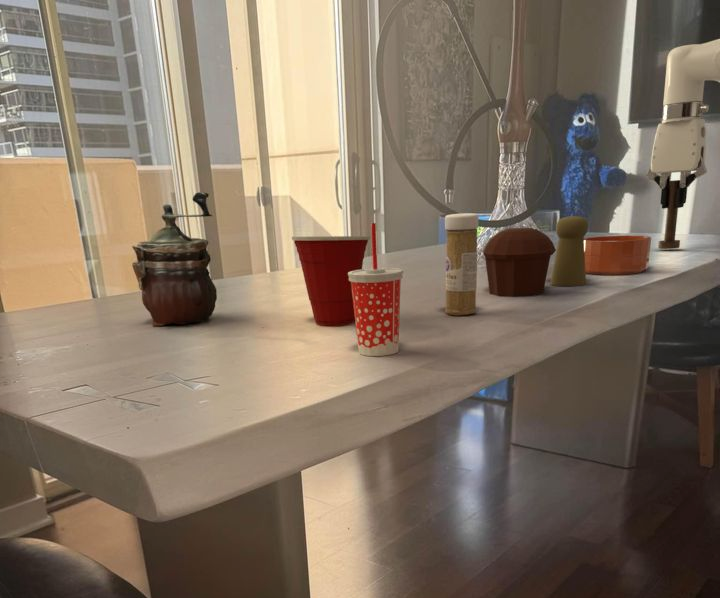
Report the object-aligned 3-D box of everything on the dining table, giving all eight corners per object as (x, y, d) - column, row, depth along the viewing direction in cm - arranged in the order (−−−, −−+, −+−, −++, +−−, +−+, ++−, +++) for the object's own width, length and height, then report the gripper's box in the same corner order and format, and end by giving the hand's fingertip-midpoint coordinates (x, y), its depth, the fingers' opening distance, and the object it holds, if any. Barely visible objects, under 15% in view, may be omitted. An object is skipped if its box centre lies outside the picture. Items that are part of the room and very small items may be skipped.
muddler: (674, 246, 158) (680, 179, 152) (682, 247, 154) (689, 179, 148) (654, 247, 158) (660, 181, 152) (663, 249, 154) (669, 181, 148)
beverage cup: (378, 343, 84) (374, 221, 79) (415, 349, 80) (413, 221, 74) (341, 353, 80) (333, 225, 75) (378, 360, 76) (372, 225, 71)
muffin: (475, 297, 112) (476, 232, 108) (486, 287, 122) (487, 227, 118) (551, 297, 108) (555, 230, 105) (556, 287, 118) (559, 224, 114)
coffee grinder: (197, 333, 96) (177, 193, 89) (126, 326, 104) (103, 197, 97) (257, 316, 106) (243, 189, 99) (188, 312, 114) (171, 193, 106)
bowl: (632, 266, 138) (635, 234, 136) (658, 273, 127) (662, 238, 125) (571, 269, 138) (574, 237, 136) (592, 276, 127) (594, 242, 125)
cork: (562, 287, 117) (566, 218, 113) (543, 283, 123) (547, 217, 118) (593, 284, 119) (598, 216, 114) (573, 280, 124) (578, 215, 120)
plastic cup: (388, 317, 100) (385, 229, 95) (346, 332, 92) (340, 236, 87) (328, 313, 105) (322, 230, 101) (283, 326, 97) (274, 237, 93)
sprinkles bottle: (439, 313, 101) (438, 214, 96) (465, 309, 103) (466, 212, 97) (456, 317, 97) (456, 215, 92) (483, 313, 99) (485, 213, 93)
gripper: (728, 109, 143) (717, 205, 150) (651, 119, 153) (643, 208, 160) (715, 108, 138) (704, 207, 145) (636, 118, 148) (629, 210, 155)
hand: (672, 207), depth 152 cm, fingers closed on muddler, 2 cm apart
